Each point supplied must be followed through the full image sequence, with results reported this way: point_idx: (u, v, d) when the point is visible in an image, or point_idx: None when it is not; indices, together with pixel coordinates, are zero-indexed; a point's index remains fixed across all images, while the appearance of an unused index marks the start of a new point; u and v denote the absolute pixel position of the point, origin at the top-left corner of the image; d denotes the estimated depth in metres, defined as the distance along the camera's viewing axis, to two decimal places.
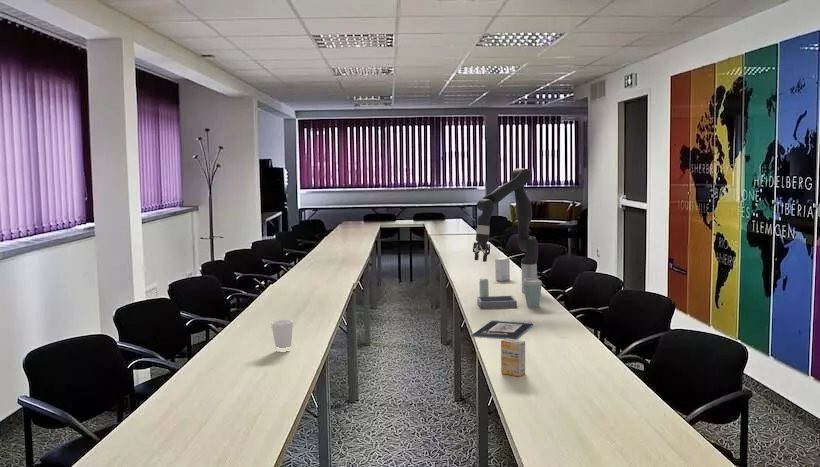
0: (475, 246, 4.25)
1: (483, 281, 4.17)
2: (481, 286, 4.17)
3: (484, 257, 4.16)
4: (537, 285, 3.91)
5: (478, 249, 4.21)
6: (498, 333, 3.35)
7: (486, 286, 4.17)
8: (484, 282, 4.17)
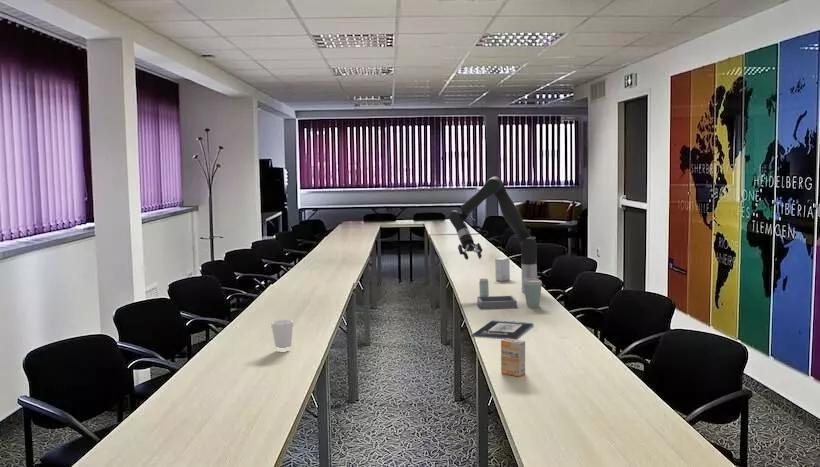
0: (477, 247, 4.36)
1: (483, 281, 4.17)
2: (481, 286, 4.17)
3: None
4: (537, 285, 3.91)
5: (472, 250, 4.34)
6: (498, 333, 3.35)
7: (486, 286, 4.17)
8: (484, 282, 4.17)
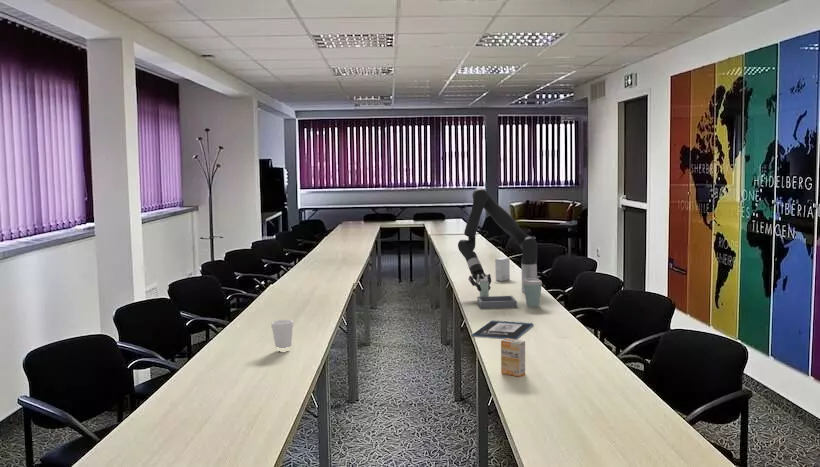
0: (487, 278, 4.26)
1: (483, 281, 4.17)
2: (481, 286, 4.17)
3: None
4: (537, 285, 3.91)
5: None
6: (498, 333, 3.35)
7: (486, 286, 4.17)
8: (484, 282, 4.17)
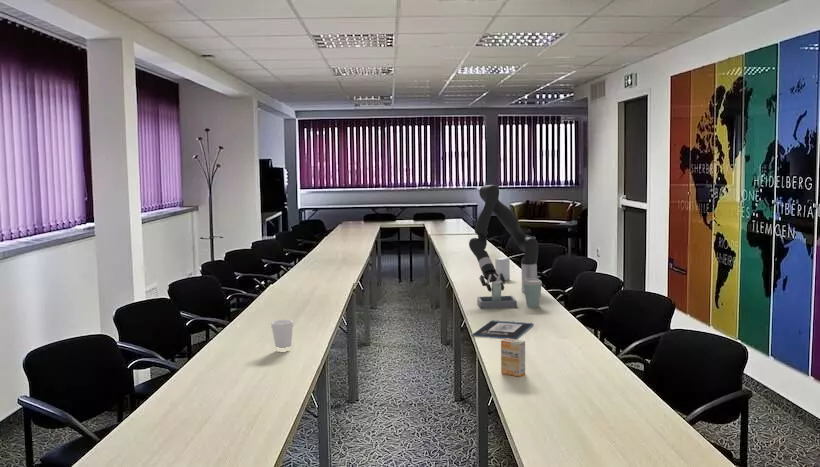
0: (500, 278, 4.09)
1: (496, 284, 4.00)
2: (493, 289, 4.01)
3: None
4: (537, 285, 3.91)
5: None
6: (498, 333, 3.35)
7: (499, 289, 4.00)
8: (497, 285, 4.00)
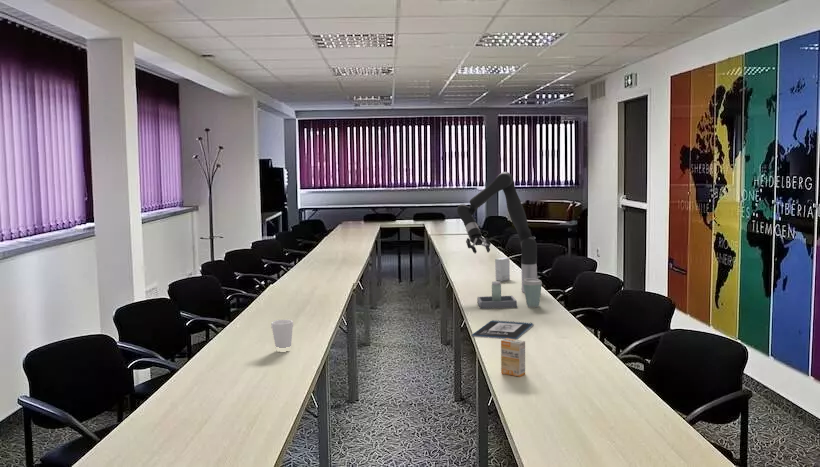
0: (486, 241, 4.33)
1: (496, 284, 4.00)
2: (493, 289, 4.01)
3: None
4: (537, 285, 3.91)
5: (480, 244, 4.31)
6: (498, 333, 3.35)
7: (499, 289, 4.00)
8: (497, 285, 4.00)
